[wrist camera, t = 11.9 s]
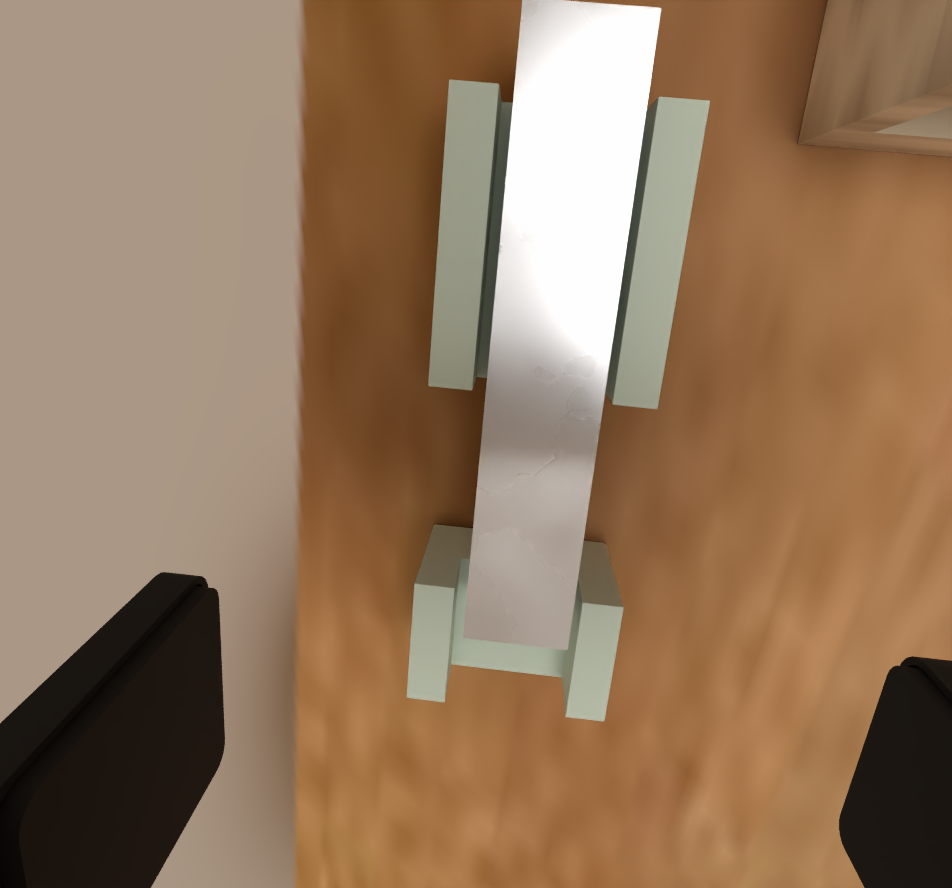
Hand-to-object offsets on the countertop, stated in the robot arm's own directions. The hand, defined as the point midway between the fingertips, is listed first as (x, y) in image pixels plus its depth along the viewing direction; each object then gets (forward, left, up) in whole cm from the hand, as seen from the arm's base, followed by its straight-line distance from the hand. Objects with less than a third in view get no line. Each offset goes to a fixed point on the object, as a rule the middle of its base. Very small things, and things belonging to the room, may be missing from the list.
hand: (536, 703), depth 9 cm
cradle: (-1, 0, -14) cm, 14 cm away
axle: (-3, 0, -12) cm, 12 cm away
